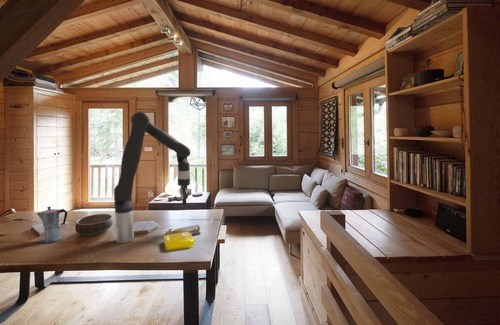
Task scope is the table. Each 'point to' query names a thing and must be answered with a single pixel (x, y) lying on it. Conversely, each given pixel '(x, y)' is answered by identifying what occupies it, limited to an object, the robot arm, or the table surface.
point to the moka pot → (52, 224)
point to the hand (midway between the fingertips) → (184, 204)
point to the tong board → (190, 232)
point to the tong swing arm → (186, 227)
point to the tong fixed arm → (184, 230)
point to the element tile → (178, 241)
